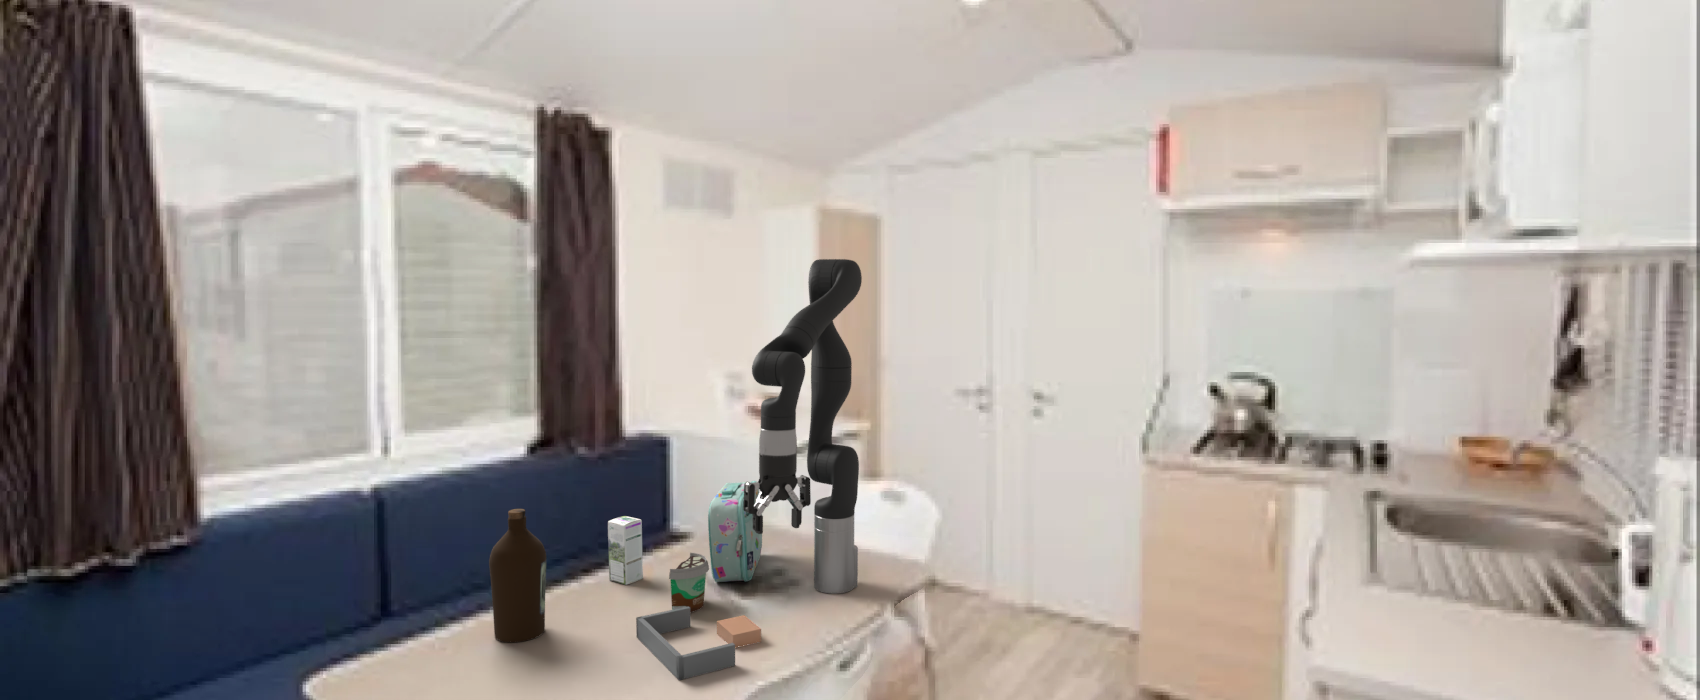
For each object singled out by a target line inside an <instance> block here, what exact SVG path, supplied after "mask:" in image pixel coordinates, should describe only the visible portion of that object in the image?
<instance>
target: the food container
mask: <svg viewBox="0 0 1700 700" xmlns="http://www.w3.org/2000/svg"><path fill="white" fill-rule="evenodd" d="M709 571H710V566H709V561H708V560H707V557H706V556H705V555H703V554H701V553H696V552H689V557H688V558H687V559H686V560H683V561H682V562H680V563H679V565H678V566H677V567H676V568H670V569H669V575H668V580H669V581H670V594H671V595H670V597H671V598H670V599H671V610H674V609H678V608H683V607H688V606H689V607H690V613H694V612H697V611H699V610H701V609H702V608H703V607H704V605H705V590H706V580H707V579H706V576H707V573H708V572H709ZM693 611H694V612H693Z"/></svg>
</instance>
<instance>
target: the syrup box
mask: <svg viewBox="0 0 1700 700" xmlns="http://www.w3.org/2000/svg"><path fill="white" fill-rule="evenodd" d="M642 523H643V521H642V519H640V518H636V517H633V516H632V517H631V516H627V515H623V516H618V517H616V518H613V519H610V520H608V521H607V537H608V538H607V541H608V570H609V571H608V572H609V573H608V576H609V578H608V579H609V581H611V582H615V583H619V584H622V585H625V586H626V585H629V584H633V583H635V582H637V581H640V580H642V579H644V578H643V577H644V572H643V570H644V569H643V528H642V527H643V525H642Z"/></svg>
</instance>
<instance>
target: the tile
mask: <svg viewBox="0 0 1700 700" xmlns="http://www.w3.org/2000/svg"><path fill="white" fill-rule="evenodd" d="M716 635H717V636H718V637H719V638H721V640H723V641H724V642H725V641H726V642H727V643H728V644H730V643H734V644H735V647H737V648H739V647H738V646H742V647H744V646H743V645H746V646H748V645H747V644H750V645H754V644H753V643H755V644H757V642H759V643H762V628H761V627H760V626H759V625H757V624H756V623H755V622H753V621H752V620H751V619H750V618H748V616H746V615H744V614H743V615H739V616H738V615H737V616H733V617H729V618H725V619H721V620H716ZM726 642H725V643H726ZM727 643H726V644H727Z"/></svg>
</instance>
